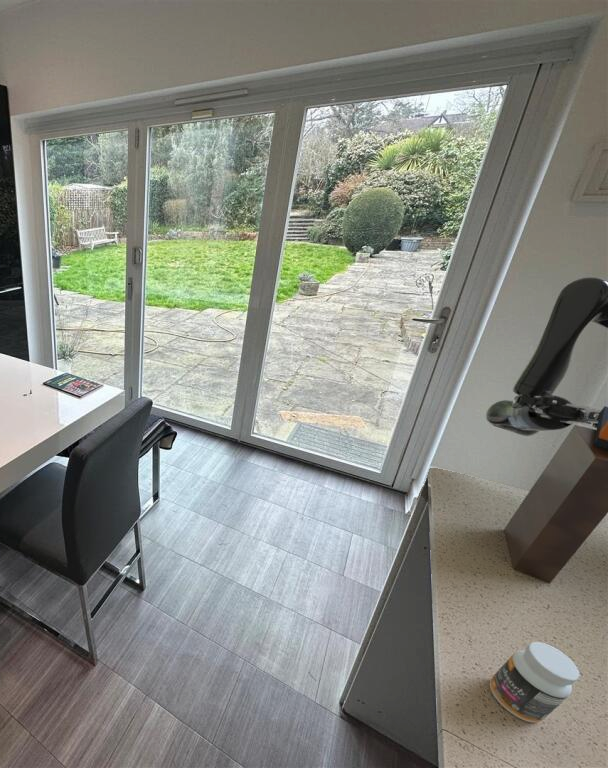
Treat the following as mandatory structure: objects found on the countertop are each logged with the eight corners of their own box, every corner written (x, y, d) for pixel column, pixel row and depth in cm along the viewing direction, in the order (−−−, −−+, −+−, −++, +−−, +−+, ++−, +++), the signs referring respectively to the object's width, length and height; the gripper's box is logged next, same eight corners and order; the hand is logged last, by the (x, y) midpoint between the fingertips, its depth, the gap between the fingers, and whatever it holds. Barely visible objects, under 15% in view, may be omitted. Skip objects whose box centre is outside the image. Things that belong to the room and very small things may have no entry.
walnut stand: (536, 540, 82) (615, 434, 70) (550, 583, 74) (643, 470, 62) (503, 529, 85) (574, 424, 73) (513, 569, 76) (595, 457, 64)
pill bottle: (478, 674, 60) (511, 633, 55) (521, 681, 59) (559, 640, 54) (507, 720, 55) (547, 680, 50) (554, 728, 54) (599, 688, 49)
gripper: (506, 388, 95) (537, 378, 81) (593, 408, 88) (643, 400, 74) (495, 419, 96) (524, 414, 82) (581, 440, 88) (628, 439, 74)
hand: (580, 407), depth 78 cm, fingers open, 8 cm apart
